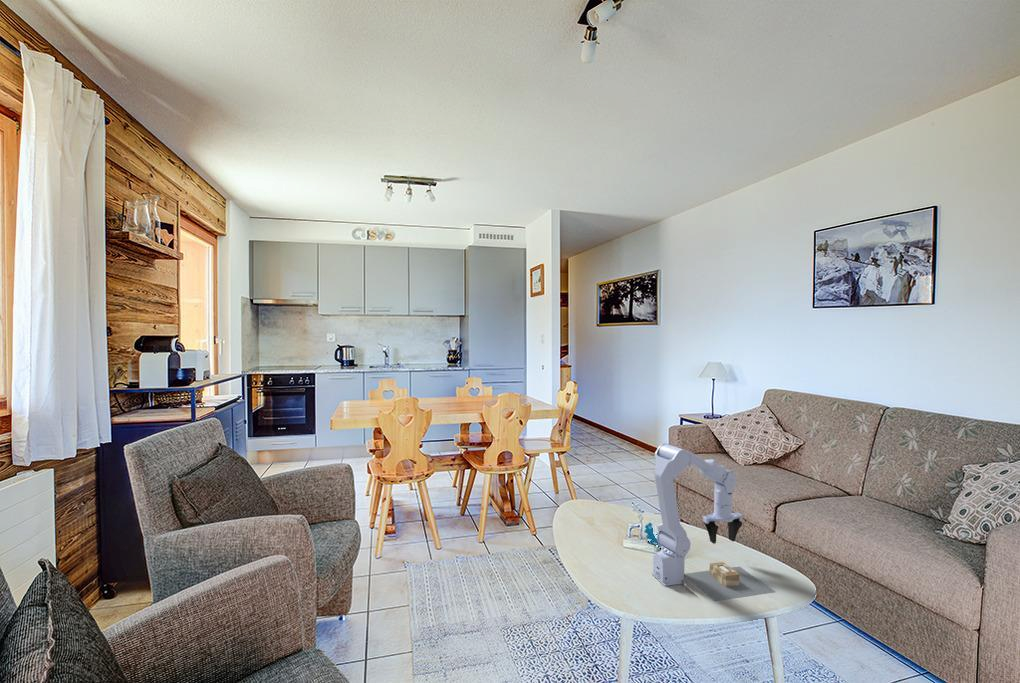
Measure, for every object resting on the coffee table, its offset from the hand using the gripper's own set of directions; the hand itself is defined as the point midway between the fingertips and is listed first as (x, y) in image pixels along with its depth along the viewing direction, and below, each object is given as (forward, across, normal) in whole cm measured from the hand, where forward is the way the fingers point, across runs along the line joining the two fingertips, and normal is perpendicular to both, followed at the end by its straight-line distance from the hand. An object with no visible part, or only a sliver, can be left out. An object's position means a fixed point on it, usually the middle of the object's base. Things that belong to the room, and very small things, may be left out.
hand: (722, 541), depth 165 cm
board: (+8, -7, -12) cm, 16 cm away
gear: (+9, -14, +19) cm, 25 cm away
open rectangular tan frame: (+7, -7, -10) cm, 14 cm away
